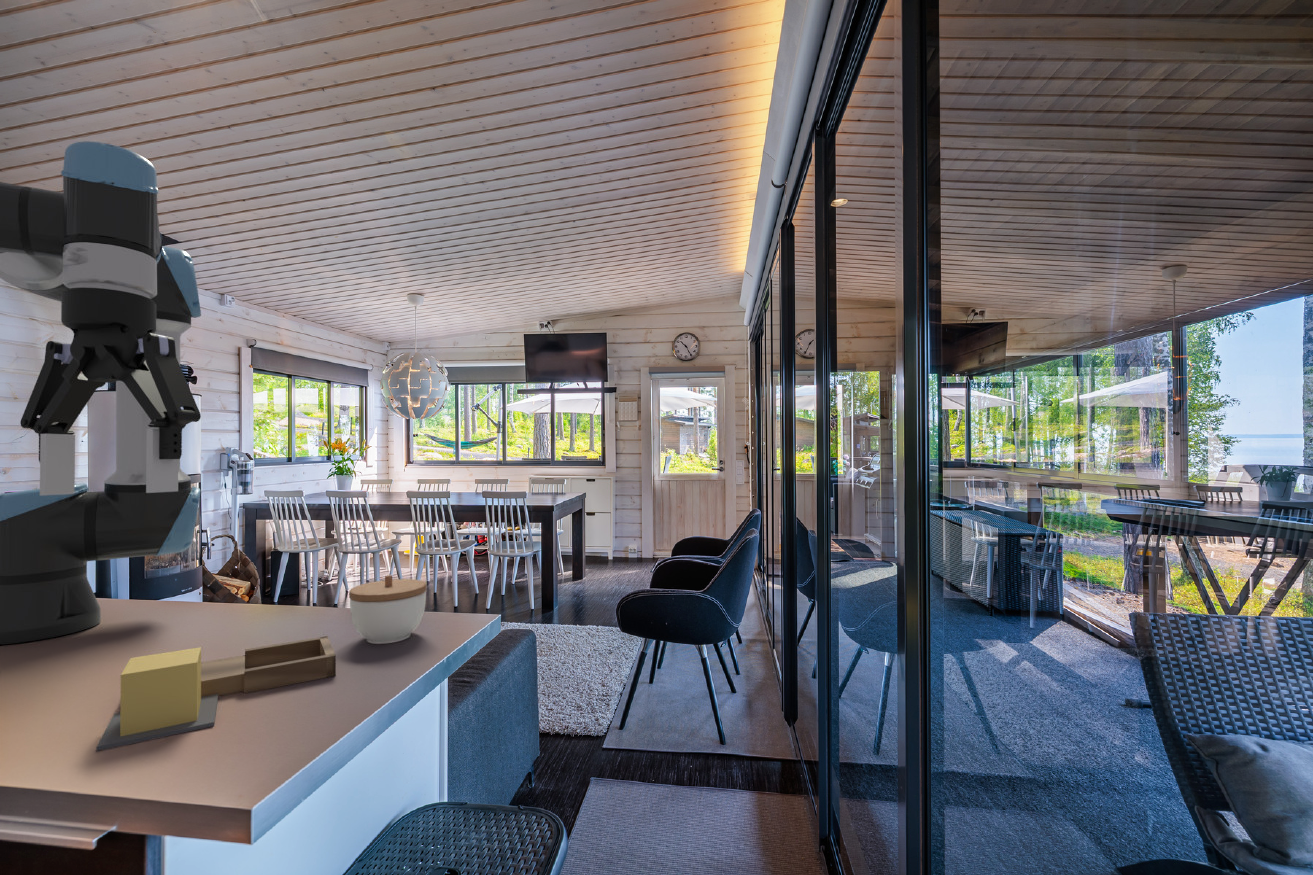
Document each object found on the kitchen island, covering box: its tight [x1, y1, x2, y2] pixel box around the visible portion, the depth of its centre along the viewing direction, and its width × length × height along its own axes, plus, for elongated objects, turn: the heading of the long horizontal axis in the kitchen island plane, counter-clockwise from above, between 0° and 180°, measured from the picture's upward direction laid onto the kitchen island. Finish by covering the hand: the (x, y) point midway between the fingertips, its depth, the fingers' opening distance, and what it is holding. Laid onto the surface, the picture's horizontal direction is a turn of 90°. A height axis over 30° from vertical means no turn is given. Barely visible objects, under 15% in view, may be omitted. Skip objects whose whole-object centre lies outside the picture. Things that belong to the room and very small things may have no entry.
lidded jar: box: [348, 574, 427, 645], centre depth 91 cm, size 11×11×9 cm
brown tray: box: [201, 635, 337, 697], centre depth 74 cm, size 10×20×2 cm, turn 124°
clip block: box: [120, 646, 202, 736], centre depth 63 cm, size 6×6×6 cm
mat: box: [95, 694, 219, 752], centre depth 63 cm, size 9×9×1 cm
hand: (108, 493), depth 64 cm, fingers open, 13 cm apart
